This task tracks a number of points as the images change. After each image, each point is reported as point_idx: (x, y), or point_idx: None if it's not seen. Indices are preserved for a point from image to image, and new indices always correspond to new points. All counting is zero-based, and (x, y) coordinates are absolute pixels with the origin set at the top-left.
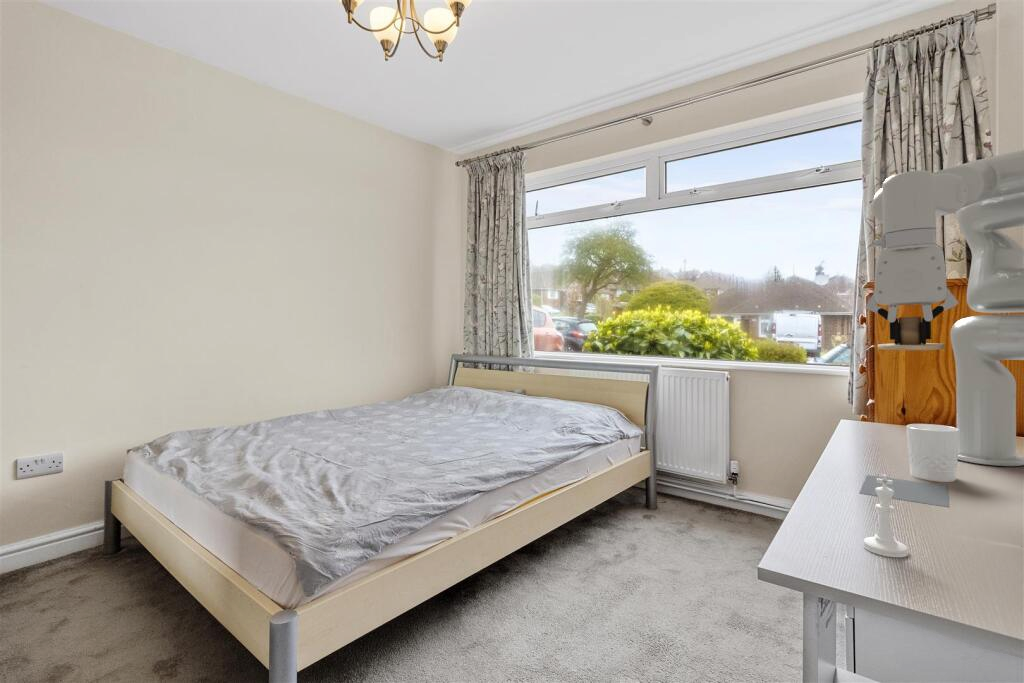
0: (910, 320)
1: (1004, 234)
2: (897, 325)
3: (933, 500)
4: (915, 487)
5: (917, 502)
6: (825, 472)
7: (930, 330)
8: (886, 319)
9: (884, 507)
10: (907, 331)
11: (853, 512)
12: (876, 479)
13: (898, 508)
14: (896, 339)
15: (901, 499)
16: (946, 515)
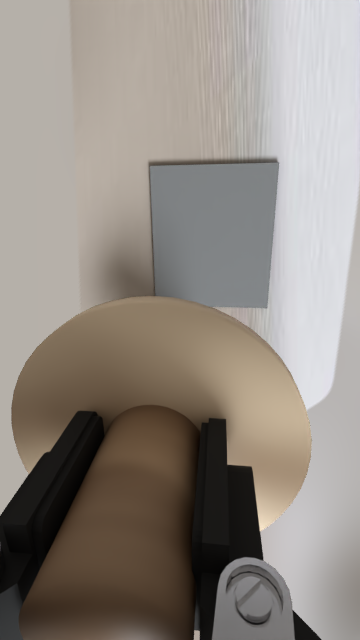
0: (100, 543)
1: None
2: (205, 516)
3: (170, 194)
4: (195, 264)
5: (191, 165)
6: (335, 300)
7: (23, 486)
8: (298, 618)
9: None
10: (147, 467)
11: (287, 23)
12: (252, 284)
13: (217, 116)
14: (215, 433)
15: (214, 165)
16: (153, 125)
